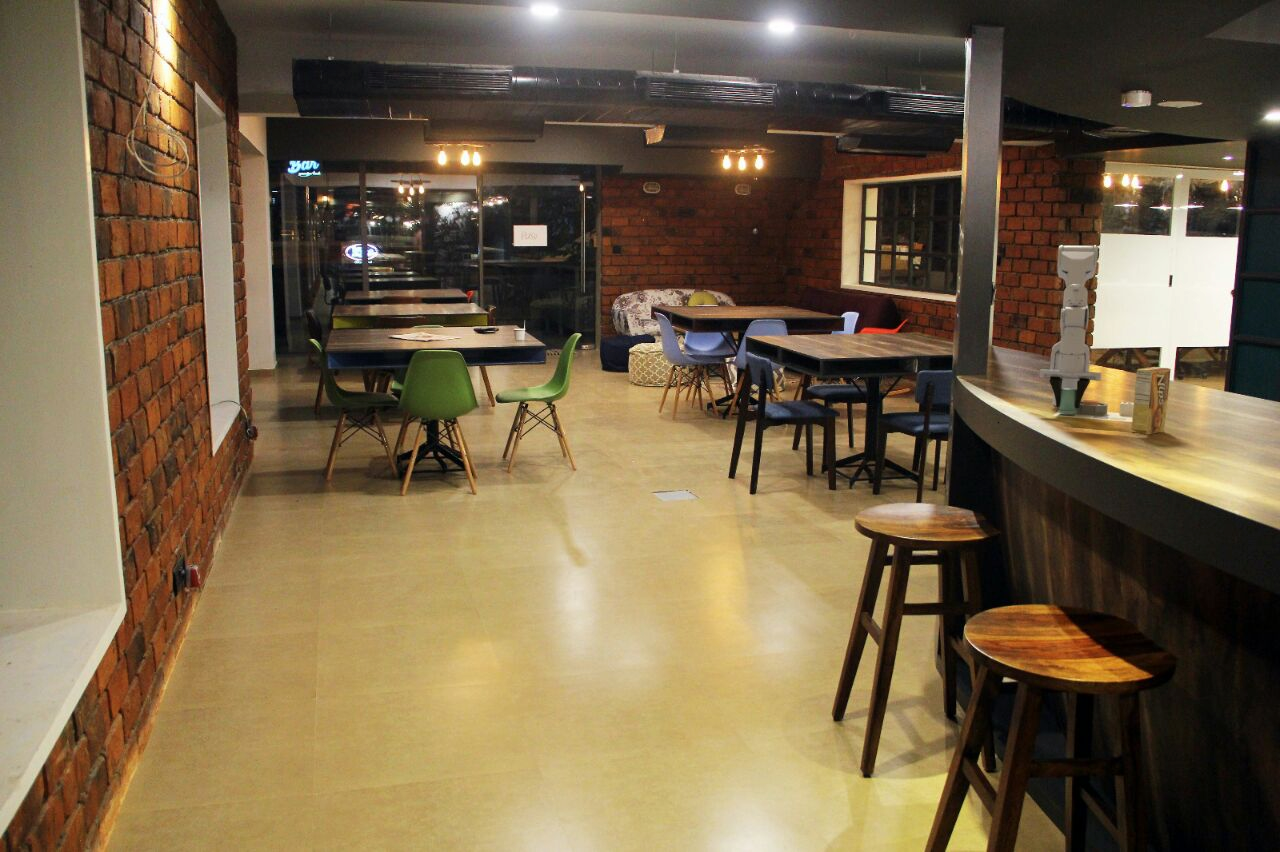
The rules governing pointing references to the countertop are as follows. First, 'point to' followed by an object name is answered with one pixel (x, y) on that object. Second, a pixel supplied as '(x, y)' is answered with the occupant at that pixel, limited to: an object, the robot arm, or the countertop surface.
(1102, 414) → the game board
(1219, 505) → the countertop surface
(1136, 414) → the candy box
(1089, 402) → the dome button
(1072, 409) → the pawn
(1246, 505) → the countertop surface
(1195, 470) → the countertop surface
